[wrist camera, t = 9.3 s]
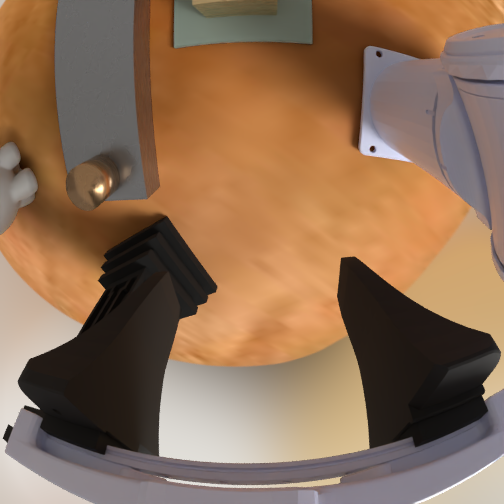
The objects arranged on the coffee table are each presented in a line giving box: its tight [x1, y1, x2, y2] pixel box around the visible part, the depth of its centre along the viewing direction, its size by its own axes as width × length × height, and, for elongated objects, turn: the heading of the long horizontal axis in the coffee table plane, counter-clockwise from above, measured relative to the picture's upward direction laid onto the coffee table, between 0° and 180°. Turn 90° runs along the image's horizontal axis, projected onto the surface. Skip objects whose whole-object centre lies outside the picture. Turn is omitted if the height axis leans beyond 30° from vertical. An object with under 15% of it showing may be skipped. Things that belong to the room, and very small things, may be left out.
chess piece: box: [3, 217, 217, 443], centre depth 16 cm, size 8×8×20 cm
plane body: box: [55, 0, 160, 211], centre depth 12 cm, size 22×7×6 cm, turn 0°
